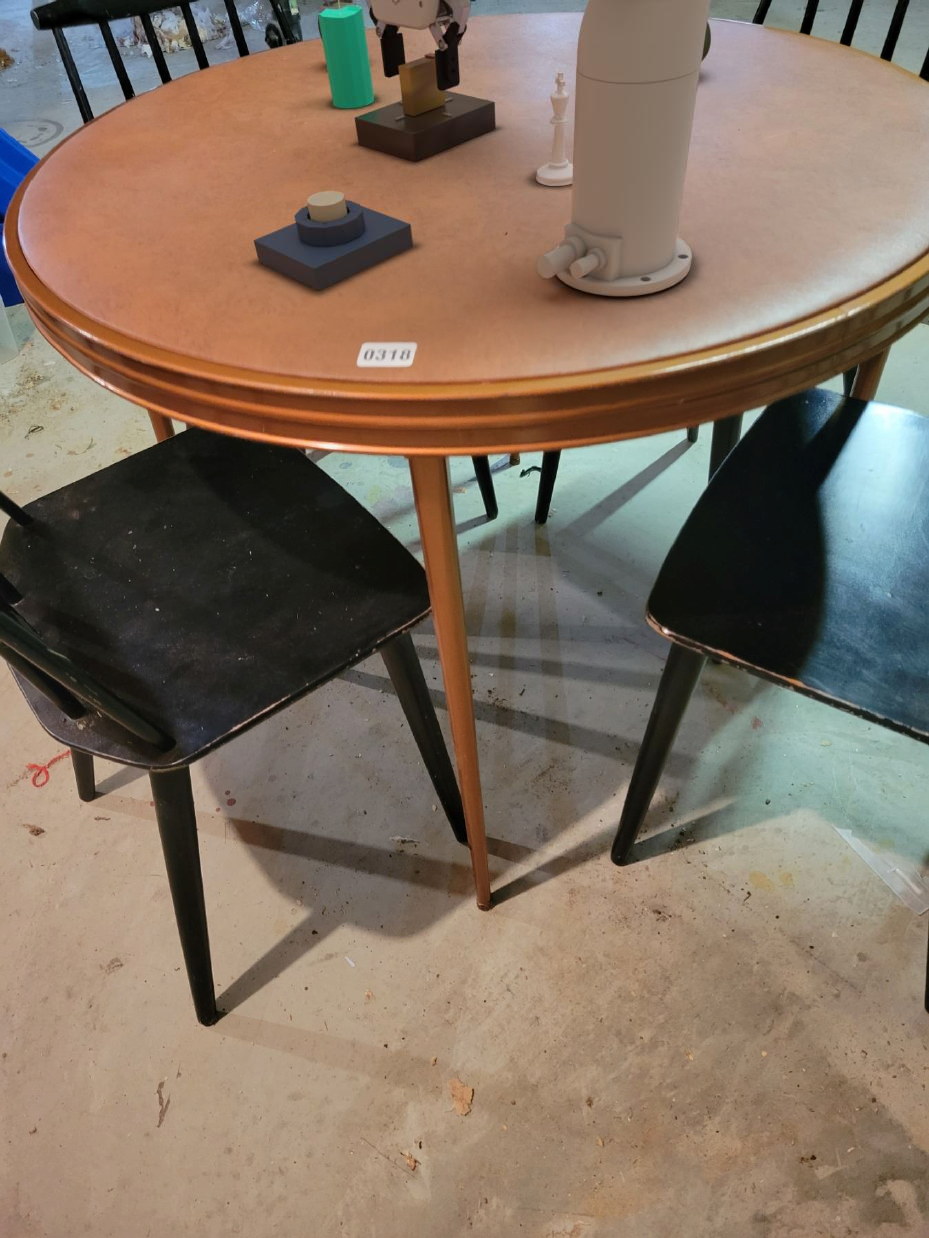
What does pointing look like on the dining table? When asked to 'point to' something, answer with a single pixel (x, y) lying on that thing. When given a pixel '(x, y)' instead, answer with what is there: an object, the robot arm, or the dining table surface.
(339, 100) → the candle
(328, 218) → the bell button
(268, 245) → the button base
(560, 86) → the chess piece
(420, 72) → the lock knob
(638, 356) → the dining table surface
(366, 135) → the plate
